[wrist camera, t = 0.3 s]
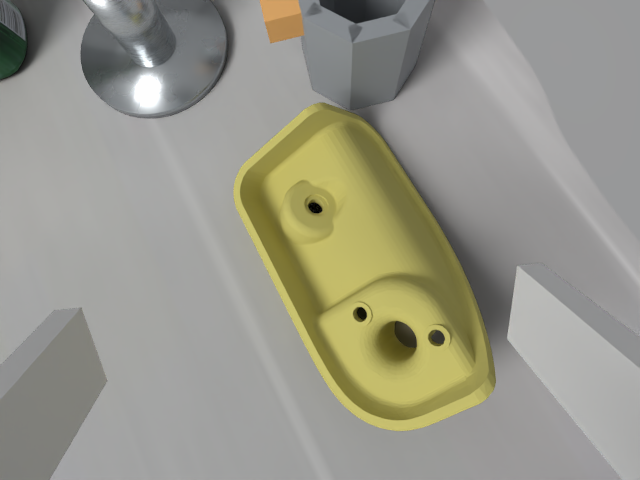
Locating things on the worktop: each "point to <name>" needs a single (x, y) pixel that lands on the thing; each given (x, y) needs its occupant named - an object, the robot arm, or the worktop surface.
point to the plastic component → (365, 271)
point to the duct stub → (153, 54)
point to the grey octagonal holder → (353, 44)
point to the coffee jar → (11, 38)
